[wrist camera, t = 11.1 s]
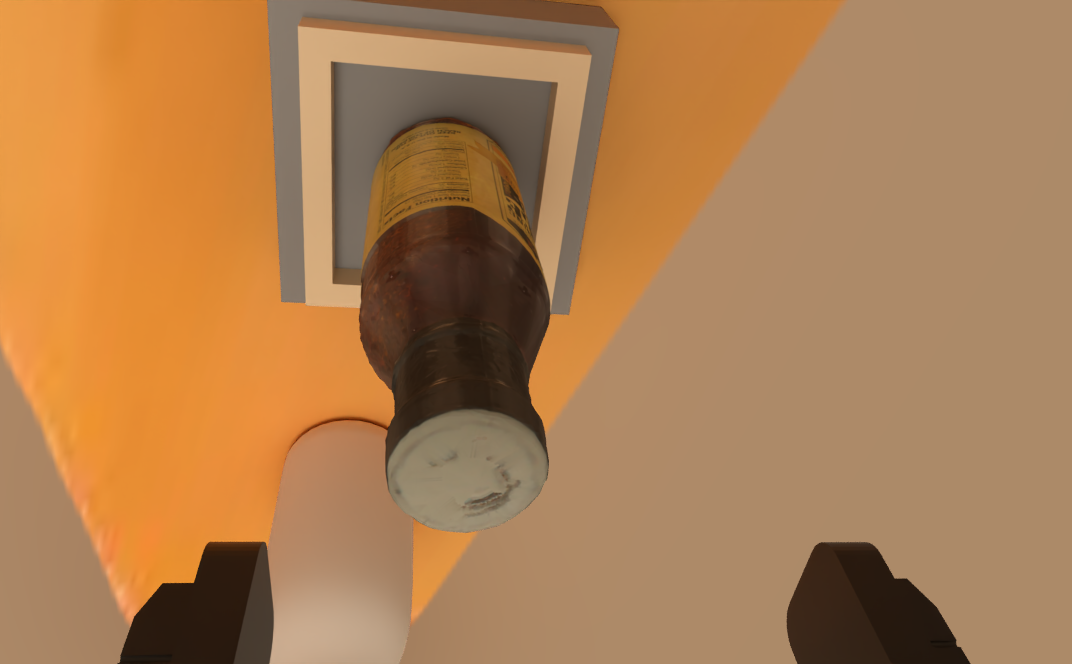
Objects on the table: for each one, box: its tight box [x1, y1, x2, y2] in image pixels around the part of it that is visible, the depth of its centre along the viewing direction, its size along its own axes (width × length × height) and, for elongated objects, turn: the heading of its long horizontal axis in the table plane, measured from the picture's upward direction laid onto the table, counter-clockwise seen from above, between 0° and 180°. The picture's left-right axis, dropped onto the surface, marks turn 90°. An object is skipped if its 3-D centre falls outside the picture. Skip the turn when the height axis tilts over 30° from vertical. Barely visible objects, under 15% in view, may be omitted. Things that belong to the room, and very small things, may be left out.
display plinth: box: [267, 0, 619, 315], centre depth 38 cm, size 14×14×6 cm
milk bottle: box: [267, 420, 413, 664], centre depth 42 cm, size 8×8×20 cm
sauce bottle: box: [359, 118, 550, 533], centre depth 28 cm, size 7×6×20 cm
